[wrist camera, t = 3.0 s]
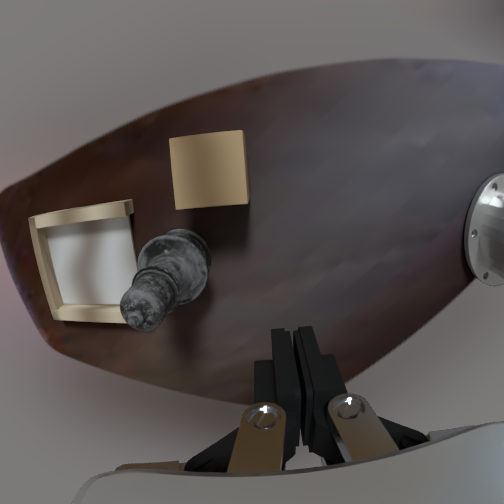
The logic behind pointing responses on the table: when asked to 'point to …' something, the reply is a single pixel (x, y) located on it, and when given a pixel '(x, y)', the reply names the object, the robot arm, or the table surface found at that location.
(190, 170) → the oak block
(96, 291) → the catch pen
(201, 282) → the grey chess piece
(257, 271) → the table surface
